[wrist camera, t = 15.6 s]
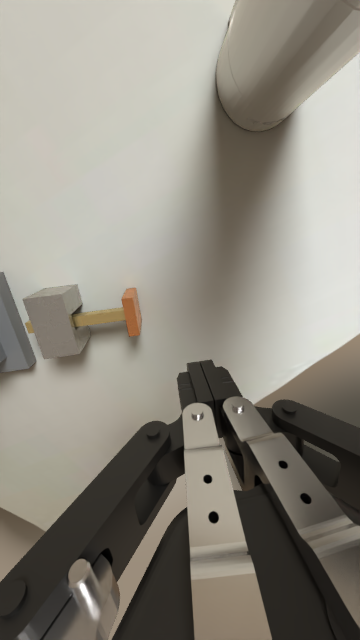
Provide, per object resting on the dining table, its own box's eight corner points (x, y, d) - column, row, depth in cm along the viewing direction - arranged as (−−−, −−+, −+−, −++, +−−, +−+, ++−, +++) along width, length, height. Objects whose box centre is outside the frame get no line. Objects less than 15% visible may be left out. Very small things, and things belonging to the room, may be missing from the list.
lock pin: (135, 287, 29) (132, 297, 24) (141, 320, 31) (139, 335, 26) (36, 300, 28) (13, 313, 24) (47, 333, 30) (28, 351, 25)
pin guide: (44, 288, 28) (22, 299, 23) (77, 284, 28) (61, 294, 24) (61, 339, 31) (44, 359, 26) (90, 335, 31) (79, 354, 26)
